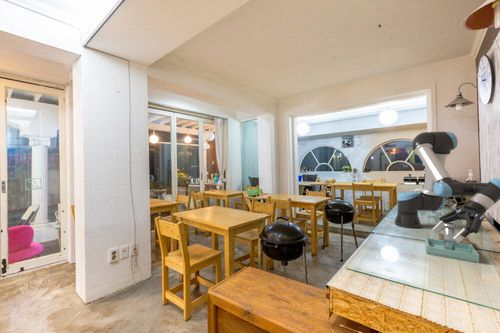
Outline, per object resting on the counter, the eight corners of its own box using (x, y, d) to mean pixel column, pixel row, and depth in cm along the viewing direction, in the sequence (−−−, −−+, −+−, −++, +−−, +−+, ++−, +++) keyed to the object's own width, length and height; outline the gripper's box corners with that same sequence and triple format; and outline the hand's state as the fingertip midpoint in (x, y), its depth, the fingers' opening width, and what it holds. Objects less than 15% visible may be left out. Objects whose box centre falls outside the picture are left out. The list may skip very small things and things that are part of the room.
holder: (441, 244, 121) (441, 239, 121) (438, 238, 131) (438, 233, 131) (472, 249, 114) (472, 243, 114) (467, 242, 124) (467, 237, 124)
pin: (442, 251, 110) (442, 224, 110) (441, 247, 115) (441, 221, 115) (458, 253, 107) (458, 226, 107) (456, 249, 112) (456, 223, 111)
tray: (426, 254, 110) (427, 246, 110) (425, 244, 123) (425, 237, 123) (479, 263, 99) (479, 255, 99) (471, 251, 113) (471, 244, 112)
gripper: (511, 217, 97) (472, 251, 99) (462, 205, 122) (431, 233, 123) (497, 204, 97) (459, 238, 99) (451, 195, 122) (421, 223, 124)
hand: (444, 235), depth 111 cm, fingers open, 13 cm apart
